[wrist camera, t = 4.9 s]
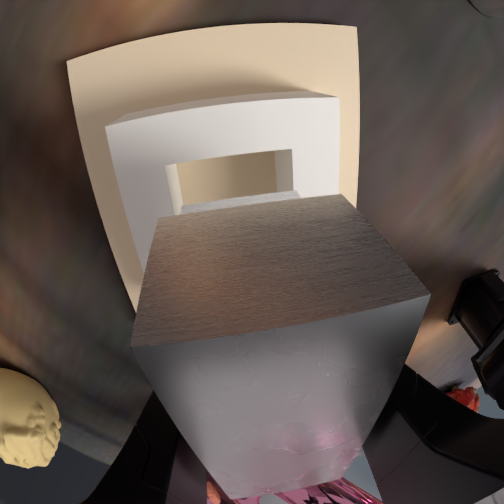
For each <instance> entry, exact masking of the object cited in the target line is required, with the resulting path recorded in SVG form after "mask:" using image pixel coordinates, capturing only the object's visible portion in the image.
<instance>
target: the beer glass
mask: <svg viewBox="0 0 504 504" xmlns="http://www.w3.org/2000/svg"><path fill="white" fill-rule="evenodd" d="M469 1H470V2H471V3H472V4H473V6H474V7H475V8H476V9H477V10H478V11H480V12H481V13H482V14H484V15H486V16H488V17H492V18H497V17H503V16H504V0H469Z"/></svg>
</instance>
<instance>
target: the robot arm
mask: <svg viewBox="0 0 504 504" xmlns="http://www.w3.org/2000/svg"><path fill="white" fill-rule="evenodd" d="M499 275H500V272H499V271H498V270H495V271H492V272H489V273H485V274H482V275H479V276H476V277H472V278H469V279H466V280H465V281H464V282H463V283H462V286H461V289H460V291H459V294H458V297H457V299H456V302H455V304H454V307H453V309H452V312H451V314H450V316H449V319H448V321H447V322H448V324H449V325H453V324H455V323H458V322H459V323H460V324H461V325H462V327H463V328H464V329H465V331H466V332H467V333H468V335H469V336H470V338H471V339H472V340H473V342H474V343H475V344H476V346H477V347H478V349H479V351H478V352H477V353H476V354H475V355H473V356H472V357H471V361H472V363H473V367H474V369H475V371H476V373H477V376H478V378H479V380H480V382H481V384H482V387H483V389H484V392H485V394H486V395H490V396H491V397H492V398H493V399H494V400H496V401H497V403H498V406H499V408H500V409H503V410H504V282H503V281H502V280H501V279H500V278H499ZM136 425H137V426H136ZM136 425H135V426H134V428H133V430H132V432H131V434H130V436H129V437H128V439H127V441H126V443H125V445H124V446H123V448H122V450H121V451H120V453H119V454H118V456H117V457H116V459H115V460H114V462H113V463H112V465H111V466H110V468H109V469H108V471H107V472H106V474H105V475H104V476H103V478H102V479H101V481H100V482H99V484H98V485H97V487H96V488H95V489H94V491H93V492H92V493H91V494H90V495H89V496H88V497H87V498H86V499H85V500H84V501H82V502H81V503H79V504H207V478H206V468H205V466H204V465H203V464H202V462H201V461H200V460H199V458H198V457H197V455H196V454H195V453H194V451H193V450H192V448H191V447H190V446H189V444H188V443H187V441H186V440H185V438H184V437H183V435H182V434H181V433H180V431H179V430H178V428H177V427H176V425H175V423H174V422H173V420H172V419H171V417H170V416H169V414H168V413H167V411H166V409H165V408H164V406H163V405H162V403H161V401H160V400H159V398H158V396H157V395H156V393H155V391H154V390H153V392H152V394H151V396H150V398H149V400H148V401H147V403H146V405H145V407H144V409H143V411H142V413H141V415H140V417H139V419H138V420H137V422H136ZM362 447H363V450H364V452H365V455H366V457H367V460H368V463H369V465H370V468H371V470H372V473H373V476H374V479H375V481H376V484H377V487H378V490H379V492H380V495H381V498H382V501H383V503H384V504H504V419H495V418H489V417H486V416H483V415H480V414H479V413H477V412H475V411H473V410H472V409H470V408H468V407H467V406H465V405H463V404H462V403H460V402H458V401H457V400H455V399H454V398H452V397H450V396H449V395H447V394H446V393H444V392H442V391H441V390H439V389H438V388H436V387H435V386H434V385H432V384H431V383H430V382H428V381H427V380H425V379H424V378H423V377H422V376H420V375H419V374H416V372H415V371H414V370H412V369H411V368H410V367H409V366H407V365H406V364H404V366H403V368H402V370H401V372H400V375H399V377H398V379H397V381H396V383H395V385H394V387H393V389H392V391H391V394H390V396H389V398H388V400H387V401H386V403H385V405H384V407H383V409H382V411H381V413H380V415H379V417H378V419H377V420H376V422H375V424H374V426H373V428H372V429H371V431H370V433H369V435H368V437H367V438H366V440H365V442H364V443H363V445H362Z"/></svg>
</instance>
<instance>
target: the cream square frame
mask: <svg viewBox="0 0 504 504" xmlns="http://www.w3.org/2000/svg"><path fill="white" fill-rule="evenodd" d="M67 68H68V75H69V82H70V88H71V95H72V100H73V106H74V111H75V116H76V122H77V126H78V131H79V136H80V140H81V145H82V149H83V153H84V157H85V162H86V166H87V169H88V173H89V177H90V181H91V184H92V188H93V192H94V195H95V199H96V202H97V205H98V209H99V212H100V215H101V219H102V222H103V225H104V228H105V231H106V234H107V237H108V240H109V243H110V246H111V249H112V252H113V255H114V257H115V260H116V263H117V266H118V268H119V271H120V274H121V276H122V279H123V282H124V284H125V287H126V289H127V292H128V294H129V297H130V299H131V302H132V304H133V307H134V309H135V312H136V311H137V306H138V301H139V296H140V291H141V287H142V282H143V278H144V273H145V269H146V265H147V260H148V256H149V252H150V248H151V244H152V240H153V236H154V232H155V228H156V224H157V221H158V218H163V217H169V216H175V215H180V213H181V206H183V205H189V204H195V203H202V202H209V201H215V200H222V199H229V198H237V197H244V196H252V195H260V194H268V193H276V192H284V191H293V190H296V191H297V192H298V194H299V195H300V196H301V198H308V197H317V196H326V195H336V194H342V195H343V196H344V197H345V198H346V199H347V200H348V201H349V202H350V203H351V204H352V205H353V206H354V207H355V208H356V200H357V185H358V165H359V130H360V93H359V59H358V41H357V27H352V26H341V25H329V24H310V23H260V24H241V25H228V26H218V27H209V28H201V29H194V30H187V31H181V32H175V33H169V34H164V35H159V36H154V37H149V38H144V39H140V40H136V41H132V42H128V43H124V44H120V45H116V46H113V47H109V48H106V49H102V50H99V51H96V52H92V53H89V54H86V55H83V56H80V57H77V58H74V59H72V60H69V61H67Z"/></svg>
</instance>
